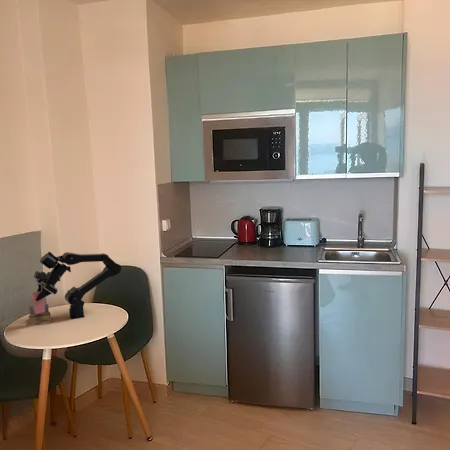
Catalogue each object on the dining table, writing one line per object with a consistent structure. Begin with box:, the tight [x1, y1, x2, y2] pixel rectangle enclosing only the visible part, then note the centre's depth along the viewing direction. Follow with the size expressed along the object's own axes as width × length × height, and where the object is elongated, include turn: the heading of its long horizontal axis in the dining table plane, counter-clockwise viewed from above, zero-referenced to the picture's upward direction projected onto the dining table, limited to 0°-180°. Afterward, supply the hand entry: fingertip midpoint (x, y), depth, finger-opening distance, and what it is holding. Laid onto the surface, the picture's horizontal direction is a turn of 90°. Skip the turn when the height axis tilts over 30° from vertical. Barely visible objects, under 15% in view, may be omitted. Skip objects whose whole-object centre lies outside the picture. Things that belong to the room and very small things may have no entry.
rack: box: [28, 303, 53, 327], centre depth 237 cm, size 10×12×7 cm
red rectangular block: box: [31, 291, 45, 314], centre depth 230 cm, size 4×4×10 cm
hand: (35, 299), depth 229 cm, fingers closed on red rectangular block, 3 cm apart
